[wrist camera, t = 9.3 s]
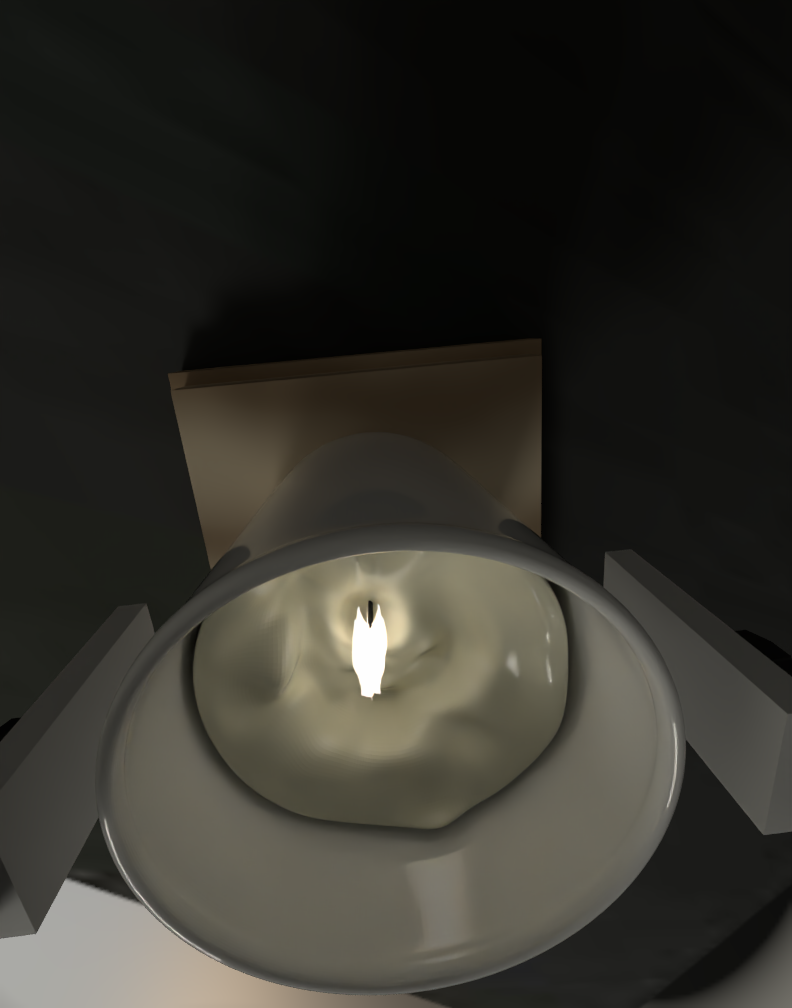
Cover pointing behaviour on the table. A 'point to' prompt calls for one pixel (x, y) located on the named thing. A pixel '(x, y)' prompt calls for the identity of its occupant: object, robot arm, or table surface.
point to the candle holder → (388, 737)
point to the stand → (360, 421)
